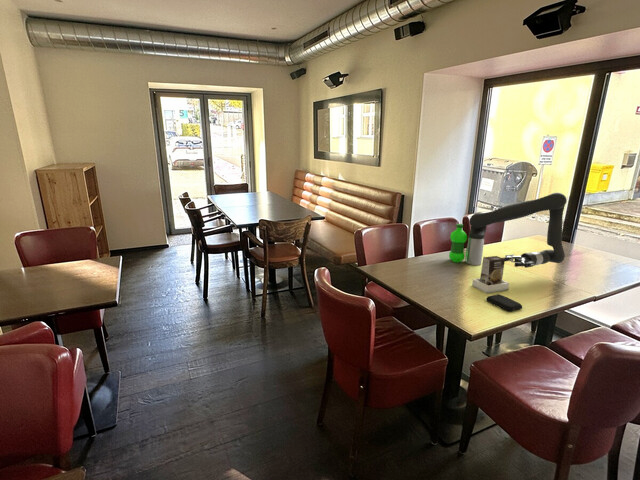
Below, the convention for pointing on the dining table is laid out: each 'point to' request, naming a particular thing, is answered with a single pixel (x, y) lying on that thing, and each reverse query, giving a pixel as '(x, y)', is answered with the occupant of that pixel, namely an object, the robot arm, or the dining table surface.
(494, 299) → the carrying case or bag
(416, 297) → the dining table surface
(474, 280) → the white rectangular tray
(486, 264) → the coffee box
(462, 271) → the dining table surface
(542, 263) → the robot arm
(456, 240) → the plastic bottle
